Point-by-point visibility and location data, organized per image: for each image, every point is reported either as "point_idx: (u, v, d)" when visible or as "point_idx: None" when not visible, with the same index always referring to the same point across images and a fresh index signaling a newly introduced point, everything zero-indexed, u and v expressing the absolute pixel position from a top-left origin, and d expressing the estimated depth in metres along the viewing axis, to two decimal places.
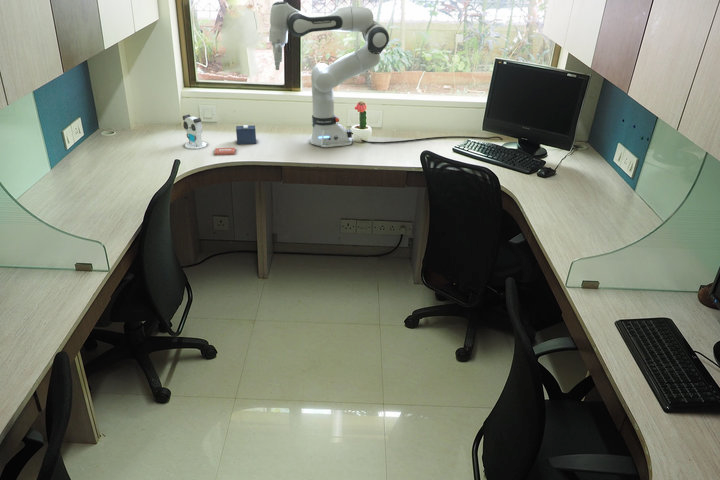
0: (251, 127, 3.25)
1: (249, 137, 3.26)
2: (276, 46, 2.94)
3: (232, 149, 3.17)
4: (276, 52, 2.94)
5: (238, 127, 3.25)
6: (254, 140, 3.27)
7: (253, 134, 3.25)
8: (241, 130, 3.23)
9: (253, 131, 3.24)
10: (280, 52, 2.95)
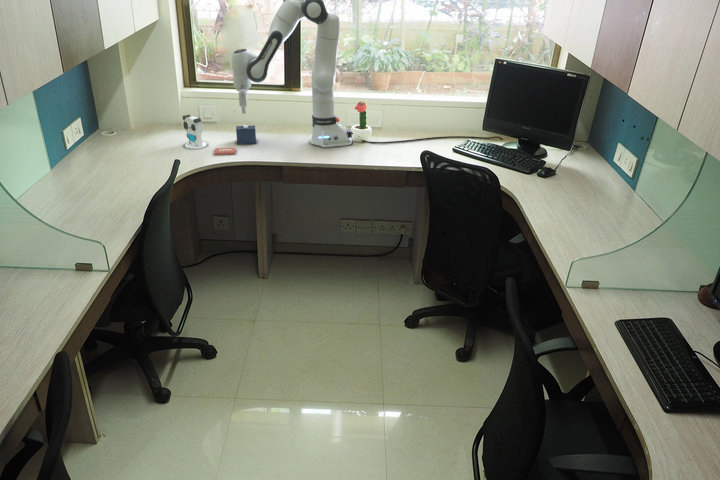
0: (251, 127, 3.25)
1: (249, 137, 3.26)
2: (240, 92, 3.07)
3: (232, 149, 3.17)
4: (240, 98, 3.08)
5: (238, 127, 3.25)
6: (254, 140, 3.27)
7: (253, 134, 3.25)
8: (241, 130, 3.23)
9: (253, 131, 3.24)
10: (244, 97, 3.08)
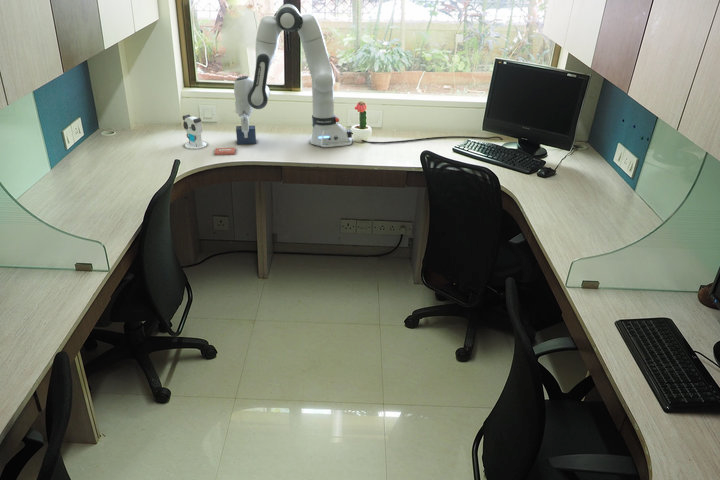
0: (251, 127, 3.25)
1: (249, 137, 3.26)
2: (242, 118, 3.14)
3: (232, 149, 3.17)
4: (242, 124, 3.15)
5: (238, 127, 3.25)
6: (254, 140, 3.27)
7: (253, 134, 3.25)
8: (241, 130, 3.23)
9: (253, 131, 3.24)
10: (246, 123, 3.15)
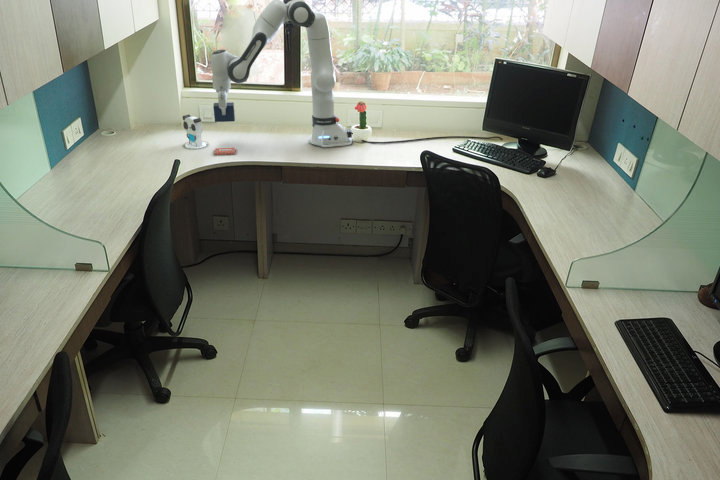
0: (230, 104, 3.11)
1: (227, 114, 3.12)
2: (219, 94, 3.01)
3: (232, 149, 3.17)
4: (219, 99, 3.01)
5: (216, 104, 3.12)
6: (232, 118, 3.13)
7: (231, 111, 3.12)
8: None
9: (231, 108, 3.11)
10: (223, 99, 3.02)
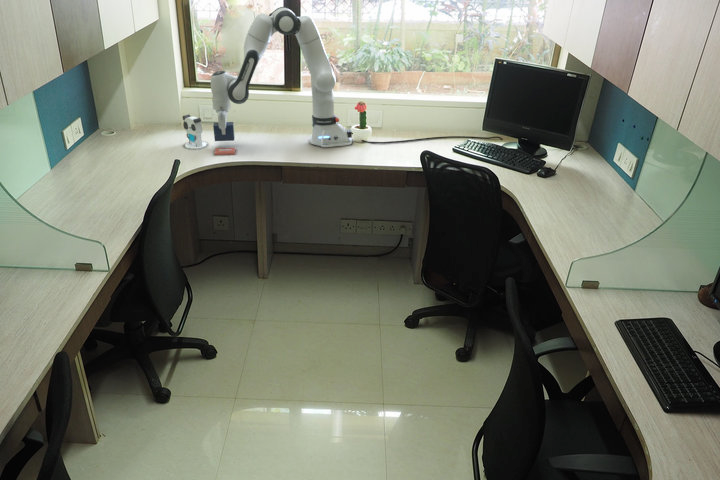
0: (229, 124, 3.16)
1: (227, 134, 3.17)
2: (219, 114, 3.05)
3: (232, 149, 3.17)
4: (219, 120, 3.06)
5: (216, 124, 3.16)
6: (232, 137, 3.18)
7: (231, 131, 3.16)
8: (218, 127, 3.14)
9: (231, 128, 3.15)
10: (223, 119, 3.06)
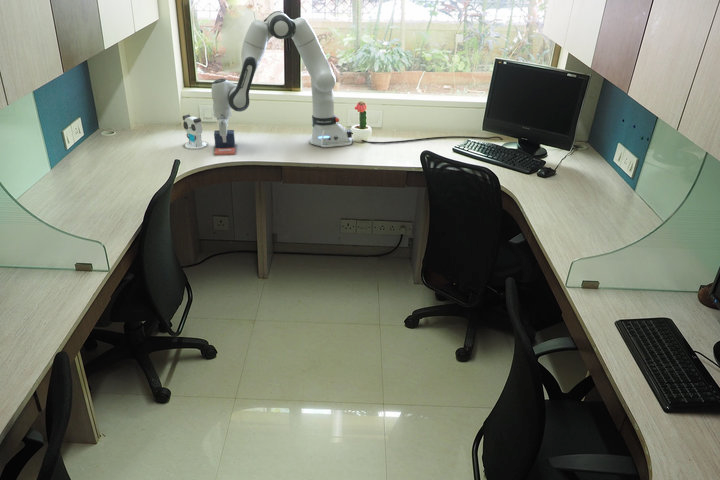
0: (230, 132, 3.18)
1: (227, 142, 3.19)
2: (220, 122, 3.08)
3: (232, 149, 3.17)
4: (220, 127, 3.08)
5: (216, 132, 3.19)
6: (233, 145, 3.20)
7: (231, 139, 3.19)
8: (219, 135, 3.17)
9: (231, 136, 3.18)
10: (224, 127, 3.08)
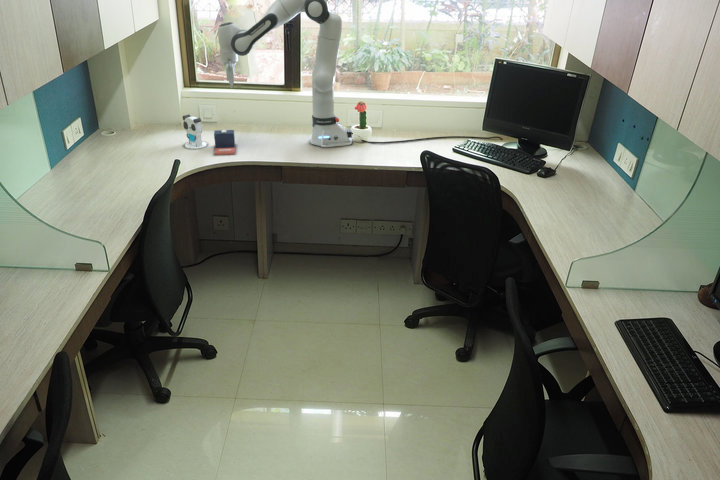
0: (230, 132, 3.18)
1: (227, 142, 3.19)
2: (227, 66, 3.04)
3: (232, 149, 3.17)
4: (227, 72, 3.05)
5: (216, 132, 3.19)
6: (233, 145, 3.20)
7: (231, 139, 3.19)
8: (219, 135, 3.17)
9: (231, 136, 3.18)
10: (231, 71, 3.05)
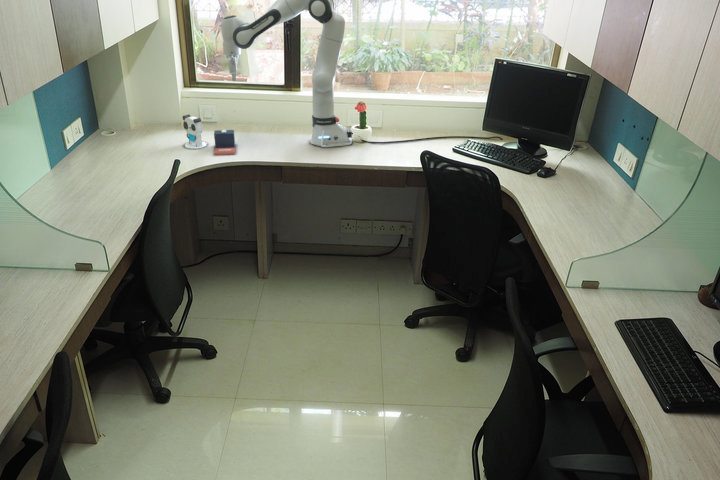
0: (230, 132, 3.18)
1: (227, 142, 3.19)
2: (229, 59, 3.06)
3: (232, 149, 3.17)
4: (230, 64, 3.06)
5: (216, 132, 3.19)
6: (233, 145, 3.20)
7: (231, 139, 3.19)
8: (219, 135, 3.17)
9: (231, 136, 3.18)
10: (234, 64, 3.06)
